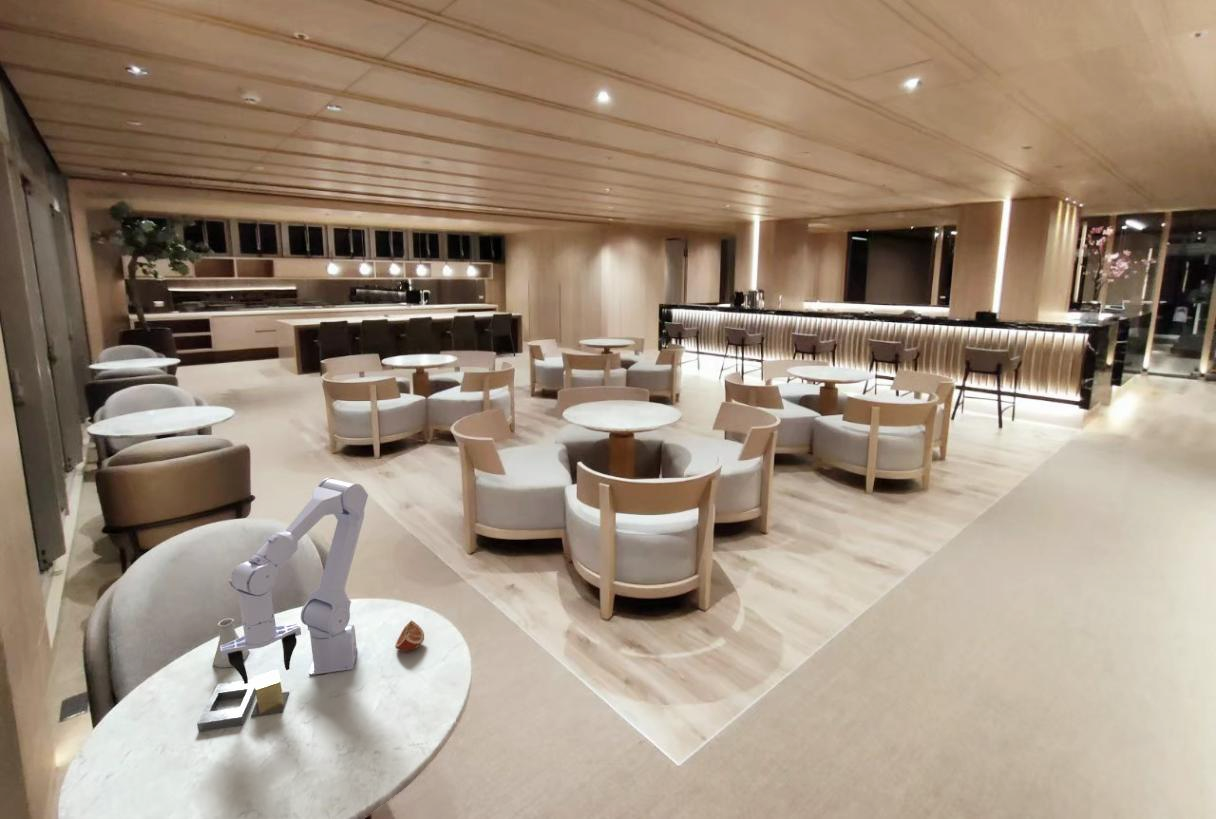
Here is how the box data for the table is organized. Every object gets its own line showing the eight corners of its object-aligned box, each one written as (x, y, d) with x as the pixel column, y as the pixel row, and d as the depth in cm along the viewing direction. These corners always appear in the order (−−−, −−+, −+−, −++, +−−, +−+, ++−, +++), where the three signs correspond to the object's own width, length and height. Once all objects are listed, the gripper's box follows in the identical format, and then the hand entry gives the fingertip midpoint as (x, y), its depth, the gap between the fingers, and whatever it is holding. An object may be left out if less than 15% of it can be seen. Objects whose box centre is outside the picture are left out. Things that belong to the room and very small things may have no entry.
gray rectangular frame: (259, 686, 137) (258, 678, 136) (242, 725, 125) (241, 716, 125) (218, 691, 135) (217, 684, 134) (198, 732, 123) (197, 723, 123)
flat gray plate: (289, 693, 135) (289, 691, 134) (282, 712, 129) (282, 710, 129) (259, 697, 133) (258, 696, 133) (251, 717, 127) (250, 715, 127)
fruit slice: (400, 637, 155) (398, 620, 154) (427, 636, 156) (426, 618, 154) (392, 658, 147) (391, 640, 145) (421, 656, 147) (420, 638, 146)
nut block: (280, 693, 134) (277, 669, 132) (283, 705, 130) (280, 681, 129) (257, 701, 131) (253, 677, 130) (259, 714, 128) (256, 689, 126)
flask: (255, 650, 149) (250, 614, 146) (235, 670, 142) (229, 632, 139) (228, 648, 149) (222, 612, 147) (206, 667, 142) (199, 629, 140)
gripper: (294, 597, 133) (301, 651, 136) (215, 619, 125) (225, 676, 128) (299, 613, 127) (306, 669, 131) (217, 636, 119) (228, 695, 123)
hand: (266, 674), depth 129 cm, fingers open, 7 cm apart
